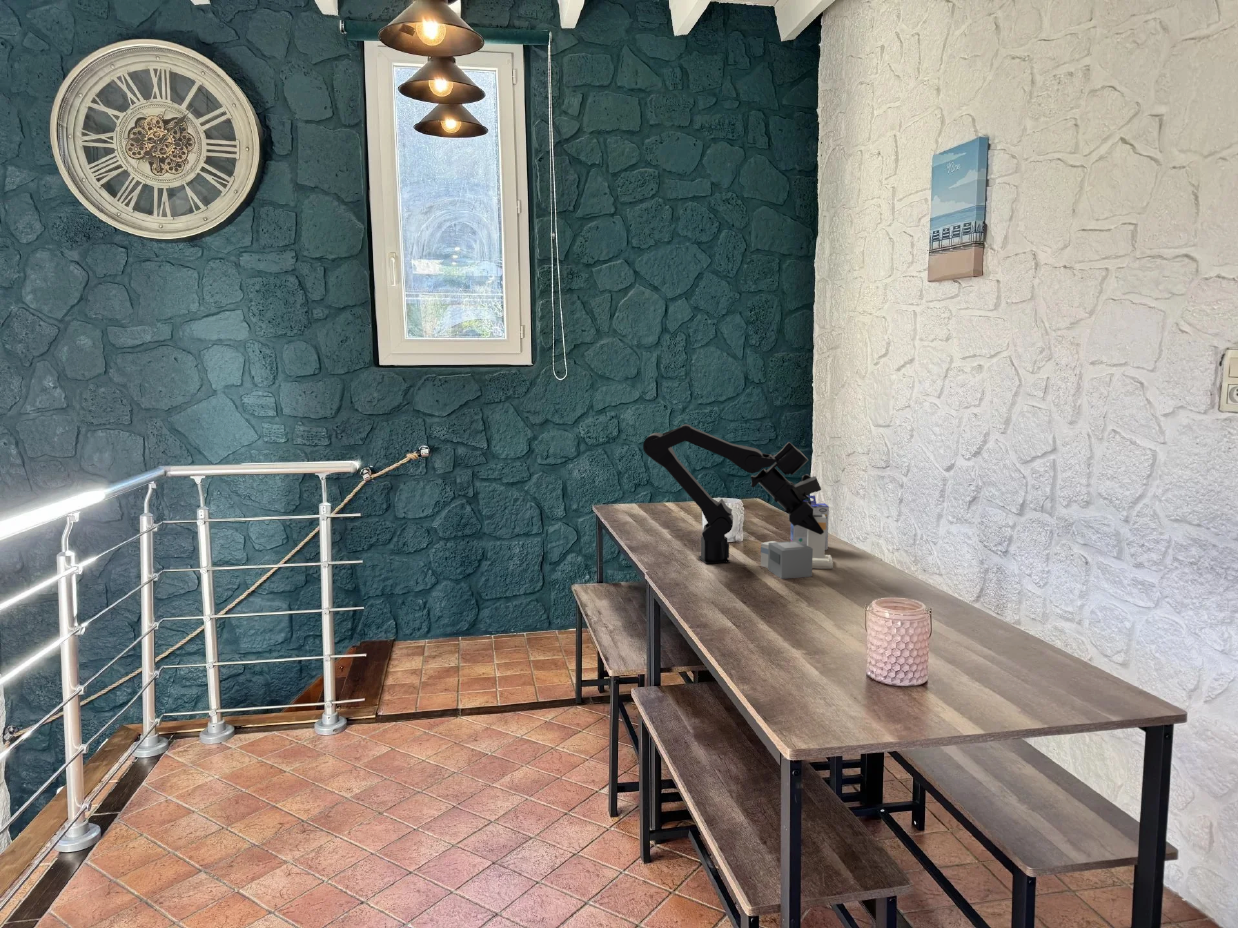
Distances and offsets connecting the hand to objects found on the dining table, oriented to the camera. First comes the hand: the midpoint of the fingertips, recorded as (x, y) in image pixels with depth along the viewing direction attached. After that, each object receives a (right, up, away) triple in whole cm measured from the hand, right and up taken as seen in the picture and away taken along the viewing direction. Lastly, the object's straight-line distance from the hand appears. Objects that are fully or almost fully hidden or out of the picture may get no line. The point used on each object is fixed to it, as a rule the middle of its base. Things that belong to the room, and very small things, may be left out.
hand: (821, 531), depth 208 cm
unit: (-10, -10, -7) cm, 15 cm away
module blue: (-13, -9, 0) cm, 15 cm away
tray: (-1, -9, +2) cm, 9 cm away
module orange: (-1, -6, +1) cm, 7 cm away
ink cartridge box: (+1, -6, +18) cm, 19 cm away
